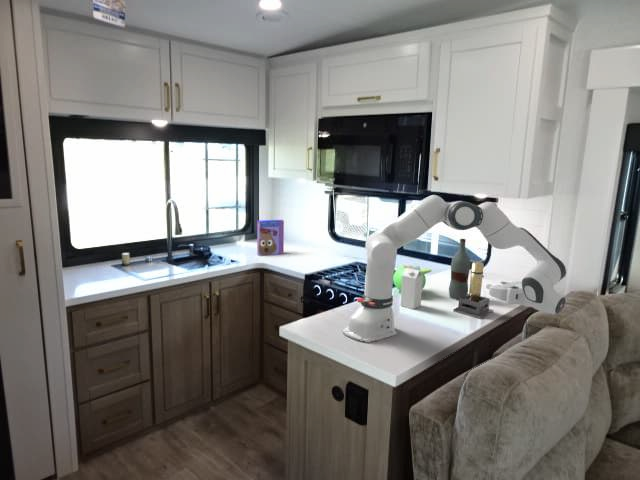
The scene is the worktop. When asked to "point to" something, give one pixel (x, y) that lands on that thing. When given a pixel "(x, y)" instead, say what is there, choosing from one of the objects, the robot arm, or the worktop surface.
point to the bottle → (459, 273)
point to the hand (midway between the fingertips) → (494, 284)
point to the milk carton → (411, 287)
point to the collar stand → (479, 312)
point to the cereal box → (270, 237)
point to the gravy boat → (399, 272)
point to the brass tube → (476, 282)
